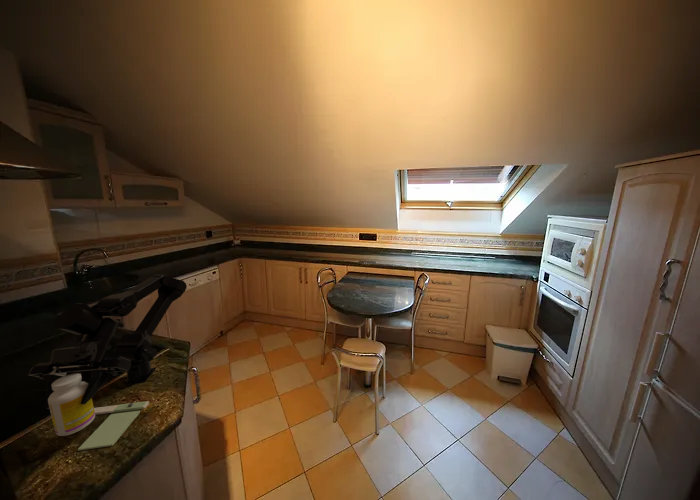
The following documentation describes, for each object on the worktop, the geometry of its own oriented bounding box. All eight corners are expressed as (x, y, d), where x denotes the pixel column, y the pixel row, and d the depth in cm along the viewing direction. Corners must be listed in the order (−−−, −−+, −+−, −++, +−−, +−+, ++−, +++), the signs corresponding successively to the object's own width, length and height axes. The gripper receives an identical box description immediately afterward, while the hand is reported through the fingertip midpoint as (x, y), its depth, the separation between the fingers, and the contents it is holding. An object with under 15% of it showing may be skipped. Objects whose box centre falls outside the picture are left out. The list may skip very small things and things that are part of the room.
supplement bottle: (103, 413, 63) (95, 370, 61) (75, 437, 57) (65, 389, 55) (77, 414, 63) (67, 370, 61) (46, 438, 56) (35, 389, 54)
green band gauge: (84, 410, 67) (83, 407, 67) (149, 403, 70) (148, 399, 70) (33, 457, 54) (32, 452, 54) (115, 445, 57) (114, 441, 57)
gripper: (28, 334, 58) (-21, 410, 49) (117, 328, 62) (86, 398, 53) (65, 345, 67) (30, 412, 58) (141, 340, 70) (118, 401, 62)
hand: (65, 406), depth 57 cm, fingers closed on supplement bottle, 7 cm apart
